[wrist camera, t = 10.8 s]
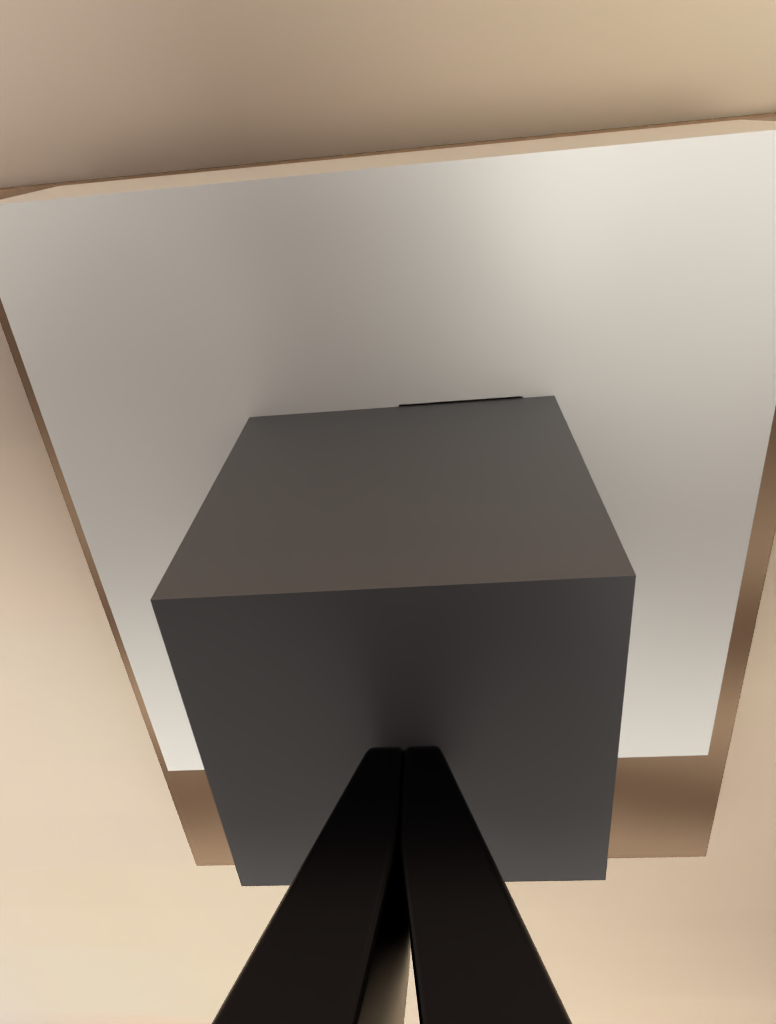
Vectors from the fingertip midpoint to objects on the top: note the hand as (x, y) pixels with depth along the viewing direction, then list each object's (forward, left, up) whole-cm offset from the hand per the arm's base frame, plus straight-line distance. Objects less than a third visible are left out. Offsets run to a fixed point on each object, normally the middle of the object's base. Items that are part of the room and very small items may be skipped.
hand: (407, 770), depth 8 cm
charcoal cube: (0, 0, -7) cm, 7 cm away
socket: (0, 0, -8) cm, 8 cm away
